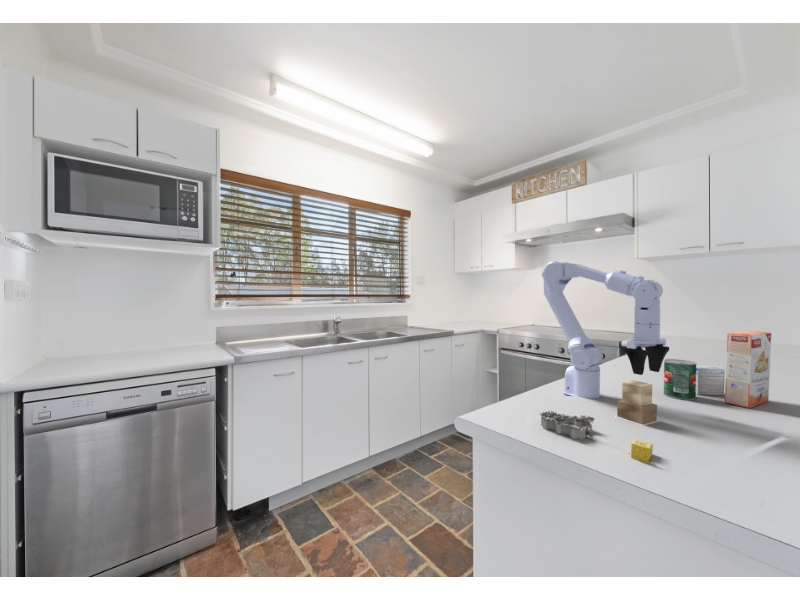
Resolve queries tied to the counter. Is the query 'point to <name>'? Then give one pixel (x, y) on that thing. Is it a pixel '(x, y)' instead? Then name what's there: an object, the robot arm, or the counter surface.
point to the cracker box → (747, 368)
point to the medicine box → (710, 380)
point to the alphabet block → (641, 450)
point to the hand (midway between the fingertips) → (646, 372)
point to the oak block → (637, 393)
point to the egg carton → (561, 427)
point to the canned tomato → (680, 379)
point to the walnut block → (637, 412)
